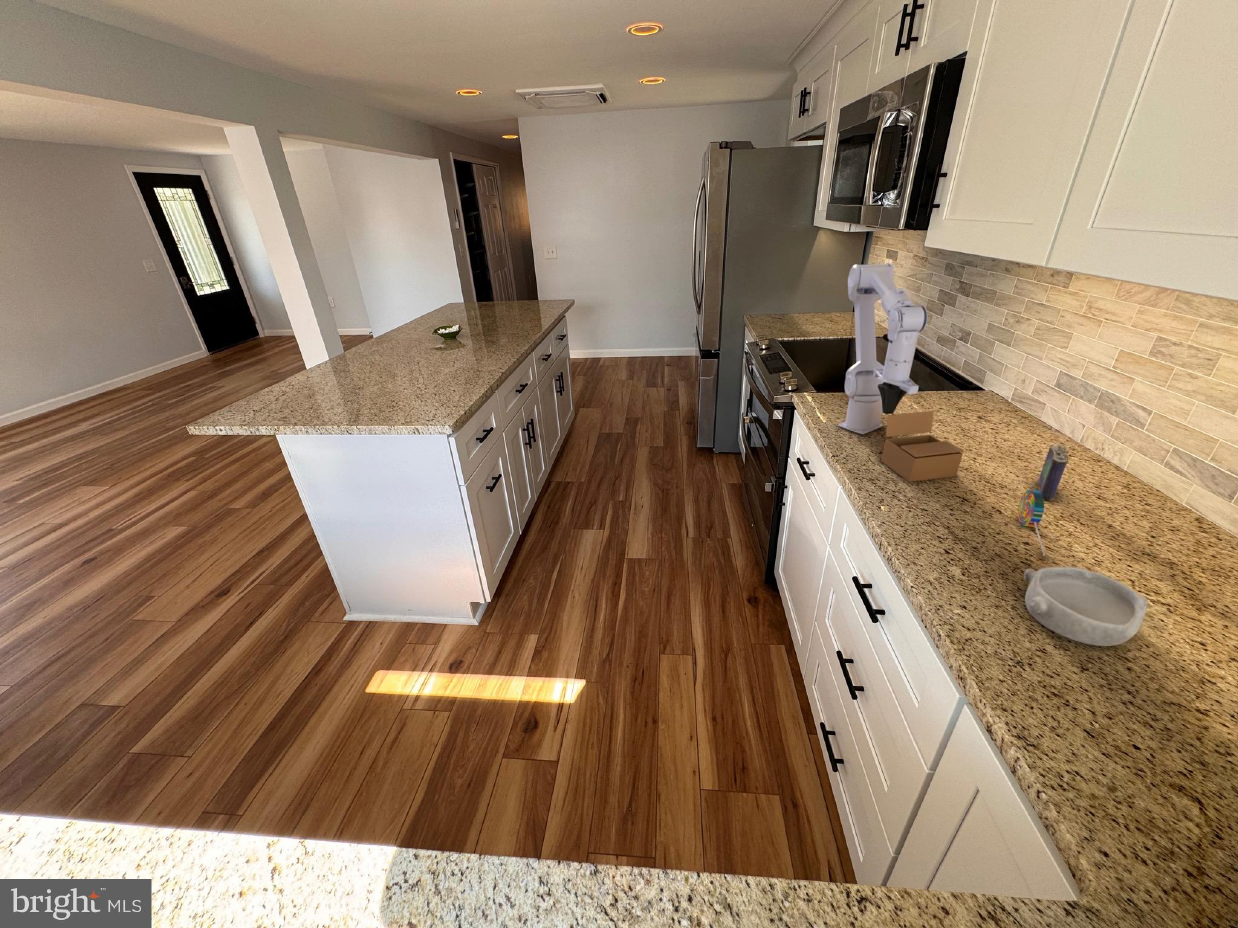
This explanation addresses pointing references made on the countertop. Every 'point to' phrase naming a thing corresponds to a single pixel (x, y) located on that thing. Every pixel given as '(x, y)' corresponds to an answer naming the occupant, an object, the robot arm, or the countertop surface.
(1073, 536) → the countertop surface
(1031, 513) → the lollipop
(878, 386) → the robot arm
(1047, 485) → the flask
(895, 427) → the flap
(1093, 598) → the dish
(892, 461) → the carton
